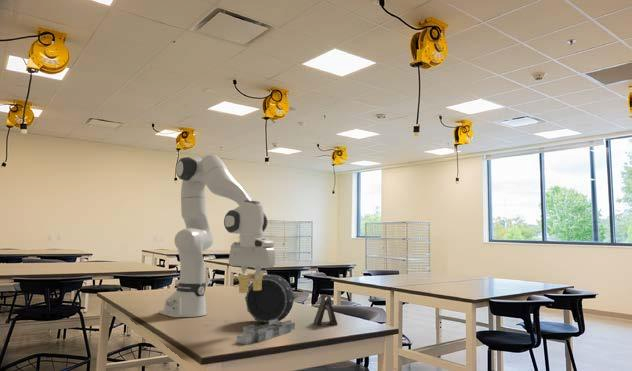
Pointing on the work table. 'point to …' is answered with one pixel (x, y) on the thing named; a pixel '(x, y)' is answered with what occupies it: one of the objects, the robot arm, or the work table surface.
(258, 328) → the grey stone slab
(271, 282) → the dark grey short cylinder
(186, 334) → the work table surface
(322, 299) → the brown a-shaped stand
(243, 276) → the tan notched block
